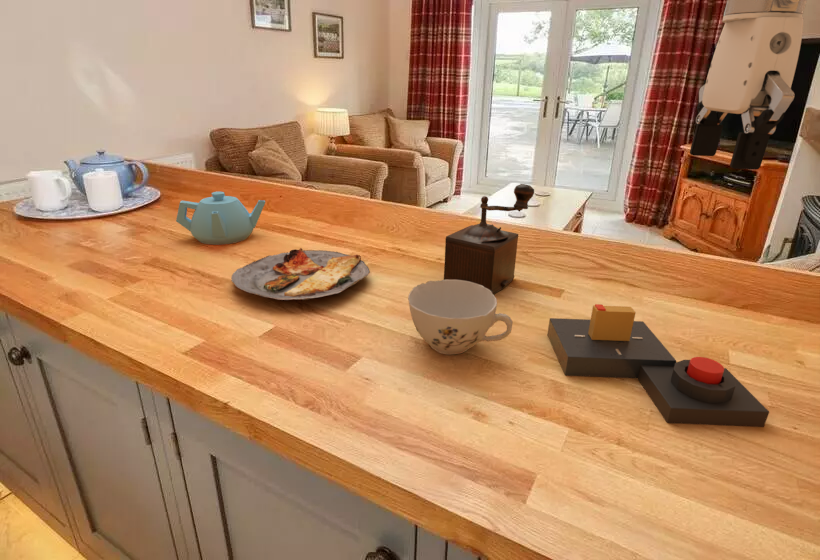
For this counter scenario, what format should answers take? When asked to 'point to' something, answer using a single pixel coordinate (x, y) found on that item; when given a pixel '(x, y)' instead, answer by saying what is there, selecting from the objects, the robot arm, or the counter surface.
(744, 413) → the button block
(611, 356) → the panel
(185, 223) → the teapot
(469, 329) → the teacup
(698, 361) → the button
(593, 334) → the red-tipped wooden block
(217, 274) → the counter surface
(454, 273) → the manual coffee grinder
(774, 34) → the robot arm
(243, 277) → the food plate
